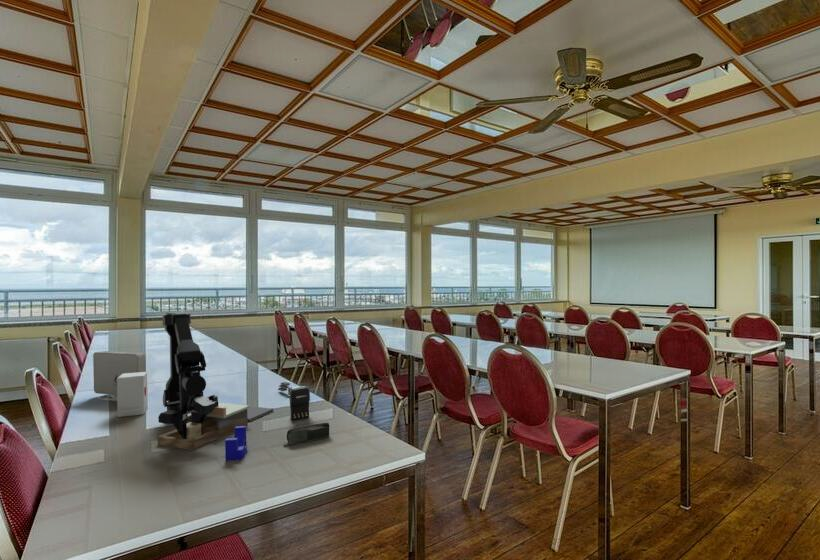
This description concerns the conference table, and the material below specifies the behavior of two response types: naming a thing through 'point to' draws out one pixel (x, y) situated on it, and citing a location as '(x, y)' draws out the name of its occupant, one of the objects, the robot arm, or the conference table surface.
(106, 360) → the network device
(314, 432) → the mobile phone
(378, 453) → the conference table surface
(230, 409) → the sliding cover
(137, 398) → the supplement box
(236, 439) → the cable clip
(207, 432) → the wooden box
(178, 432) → the robot arm
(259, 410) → the charcoal mat
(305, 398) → the battery charger
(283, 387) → the extruded letter logo
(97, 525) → the conference table surface
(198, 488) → the conference table surface
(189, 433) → the beech block
